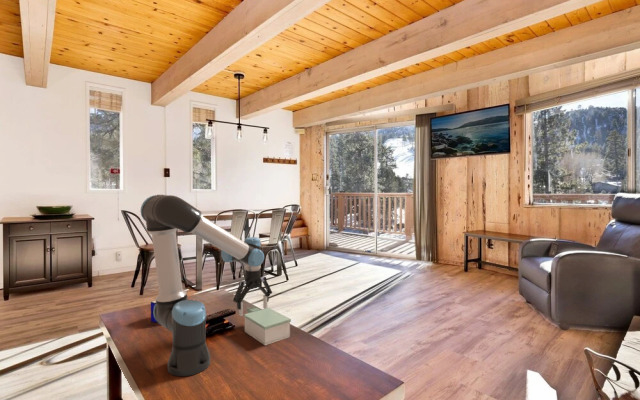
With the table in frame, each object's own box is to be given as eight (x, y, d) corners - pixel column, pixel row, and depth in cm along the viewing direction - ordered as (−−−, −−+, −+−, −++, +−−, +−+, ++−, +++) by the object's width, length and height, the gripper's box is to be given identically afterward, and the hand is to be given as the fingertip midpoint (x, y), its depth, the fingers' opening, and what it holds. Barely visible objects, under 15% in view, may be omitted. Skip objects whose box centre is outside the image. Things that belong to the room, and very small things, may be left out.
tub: (289, 336, 152) (289, 321, 151) (265, 345, 143) (265, 329, 143) (268, 324, 165) (268, 310, 165) (244, 331, 157) (244, 316, 156)
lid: (290, 323, 151) (290, 318, 151) (264, 332, 142) (265, 326, 142) (262, 308, 170) (262, 303, 170) (237, 315, 161) (237, 310, 161)
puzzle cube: (150, 321, 168) (150, 301, 167) (167, 314, 177) (167, 296, 176) (163, 325, 163) (163, 305, 163) (180, 318, 172) (180, 299, 172)
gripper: (270, 263, 174) (270, 303, 175) (225, 272, 157) (226, 316, 158) (278, 266, 168) (278, 307, 169) (232, 275, 152) (233, 321, 153)
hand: (253, 312), depth 164 cm, fingers open, 13 cm apart
